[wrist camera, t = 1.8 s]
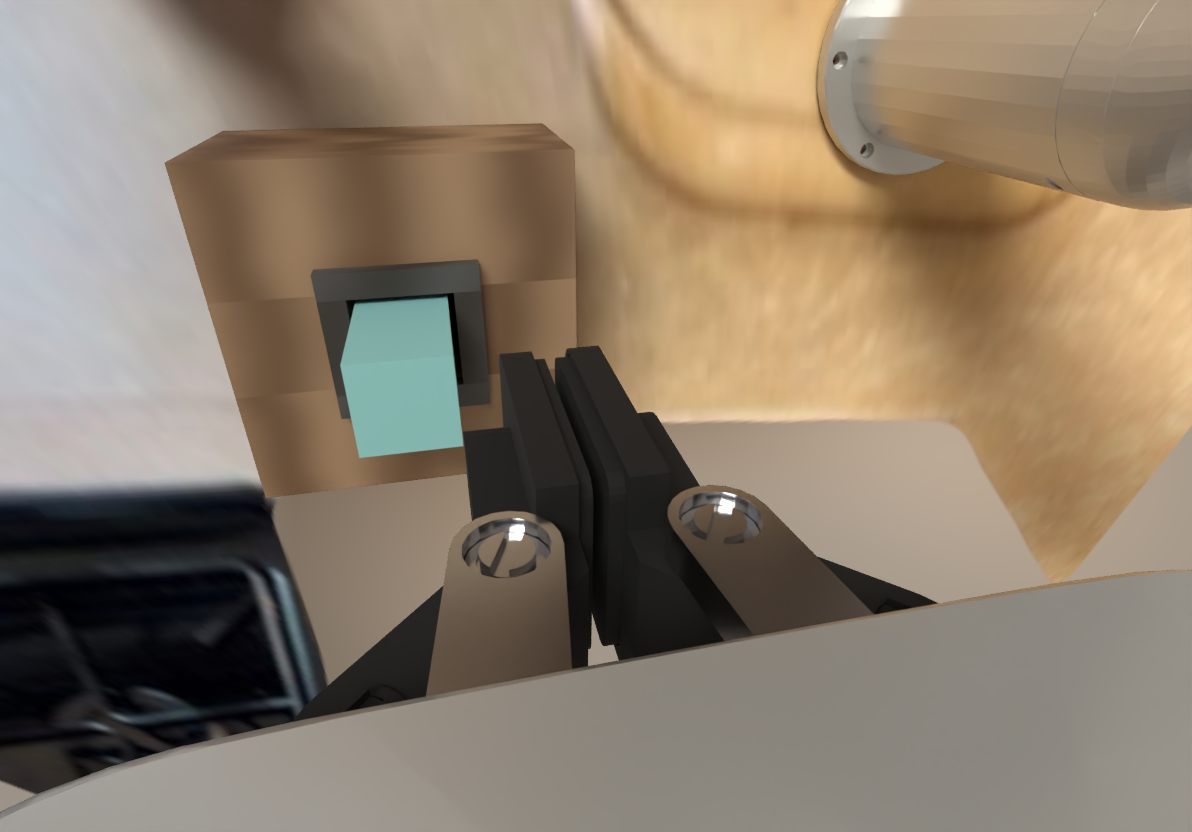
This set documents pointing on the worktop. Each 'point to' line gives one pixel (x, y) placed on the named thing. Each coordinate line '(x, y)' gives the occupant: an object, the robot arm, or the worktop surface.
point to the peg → (402, 375)
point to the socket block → (374, 272)
